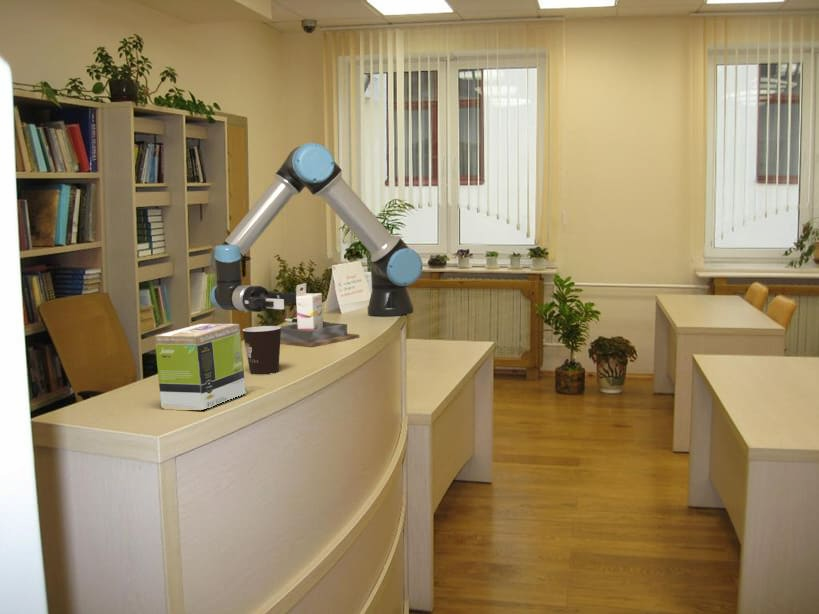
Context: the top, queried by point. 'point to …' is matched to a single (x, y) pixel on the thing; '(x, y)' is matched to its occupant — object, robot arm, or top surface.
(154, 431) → the top surface
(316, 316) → the ink cartridge box
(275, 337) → the coffee mug
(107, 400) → the top surface
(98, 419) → the top surface
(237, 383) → the tea box
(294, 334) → the cartridge holder
